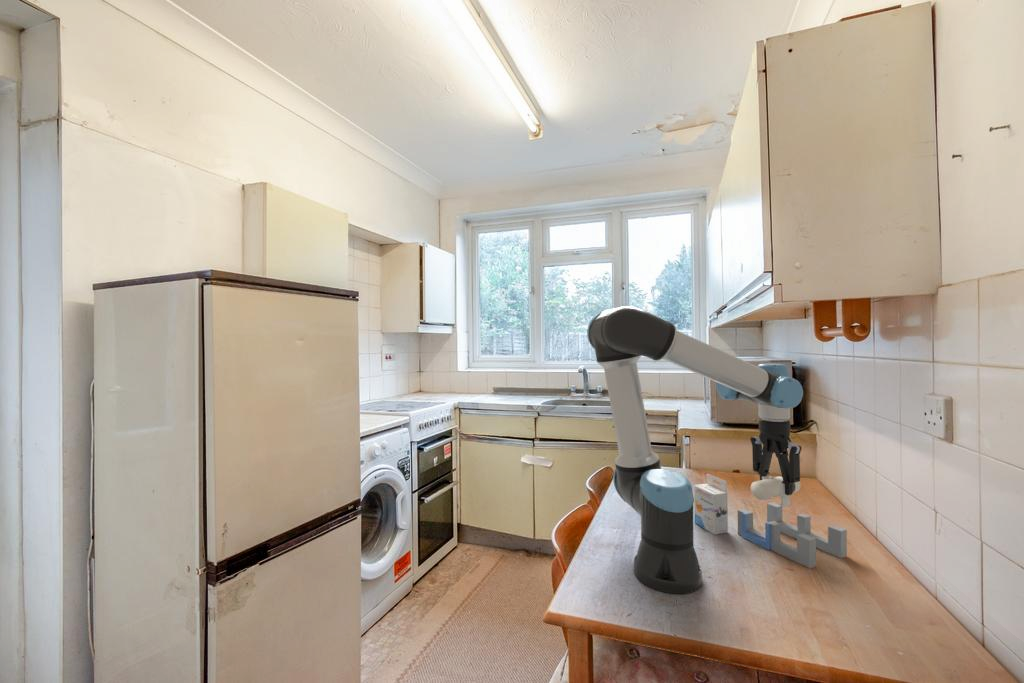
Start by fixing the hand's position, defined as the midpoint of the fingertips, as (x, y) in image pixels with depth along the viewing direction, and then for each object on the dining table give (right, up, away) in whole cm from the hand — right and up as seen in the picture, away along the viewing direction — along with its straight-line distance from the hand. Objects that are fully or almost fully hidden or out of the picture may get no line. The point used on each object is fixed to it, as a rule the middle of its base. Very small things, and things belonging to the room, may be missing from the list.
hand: (776, 502), depth 119 cm
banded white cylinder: (0, +2, 0) cm, 2 cm away
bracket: (+1, -10, -4) cm, 11 cm away
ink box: (-15, -10, +7) cm, 20 cm away
